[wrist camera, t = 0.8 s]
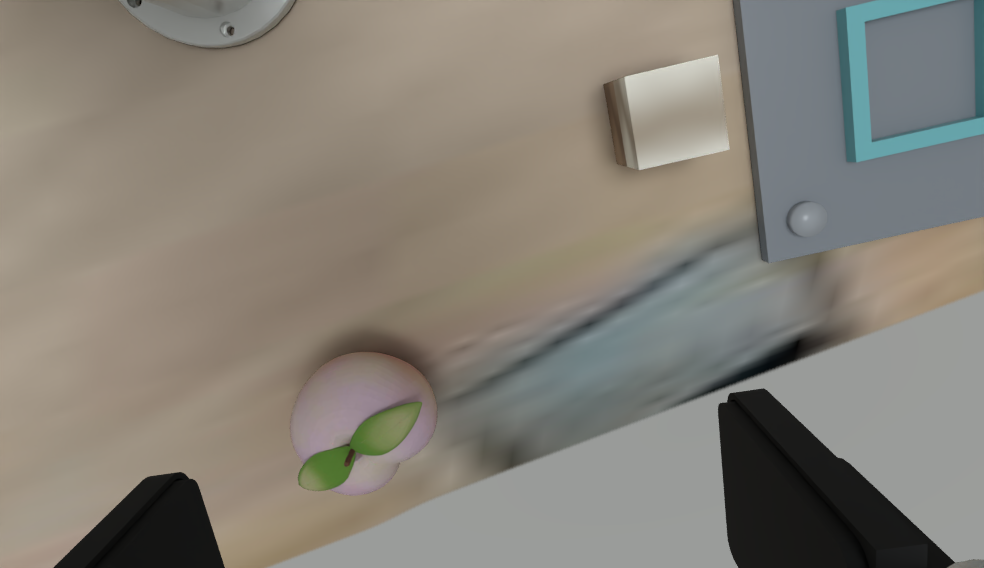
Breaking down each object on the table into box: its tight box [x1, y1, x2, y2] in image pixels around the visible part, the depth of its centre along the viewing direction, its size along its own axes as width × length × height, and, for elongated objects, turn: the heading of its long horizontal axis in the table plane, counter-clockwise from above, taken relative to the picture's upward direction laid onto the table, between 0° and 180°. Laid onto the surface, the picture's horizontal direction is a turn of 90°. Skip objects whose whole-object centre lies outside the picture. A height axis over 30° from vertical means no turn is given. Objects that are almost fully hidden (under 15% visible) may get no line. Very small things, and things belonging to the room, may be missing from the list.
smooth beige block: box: [604, 55, 730, 170], centre depth 35 cm, size 5×5×6 cm
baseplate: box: [733, 0, 984, 263], centre depth 36 cm, size 20×20×2 cm
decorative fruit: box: [290, 352, 437, 495], centre depth 38 cm, size 9×8×10 cm
